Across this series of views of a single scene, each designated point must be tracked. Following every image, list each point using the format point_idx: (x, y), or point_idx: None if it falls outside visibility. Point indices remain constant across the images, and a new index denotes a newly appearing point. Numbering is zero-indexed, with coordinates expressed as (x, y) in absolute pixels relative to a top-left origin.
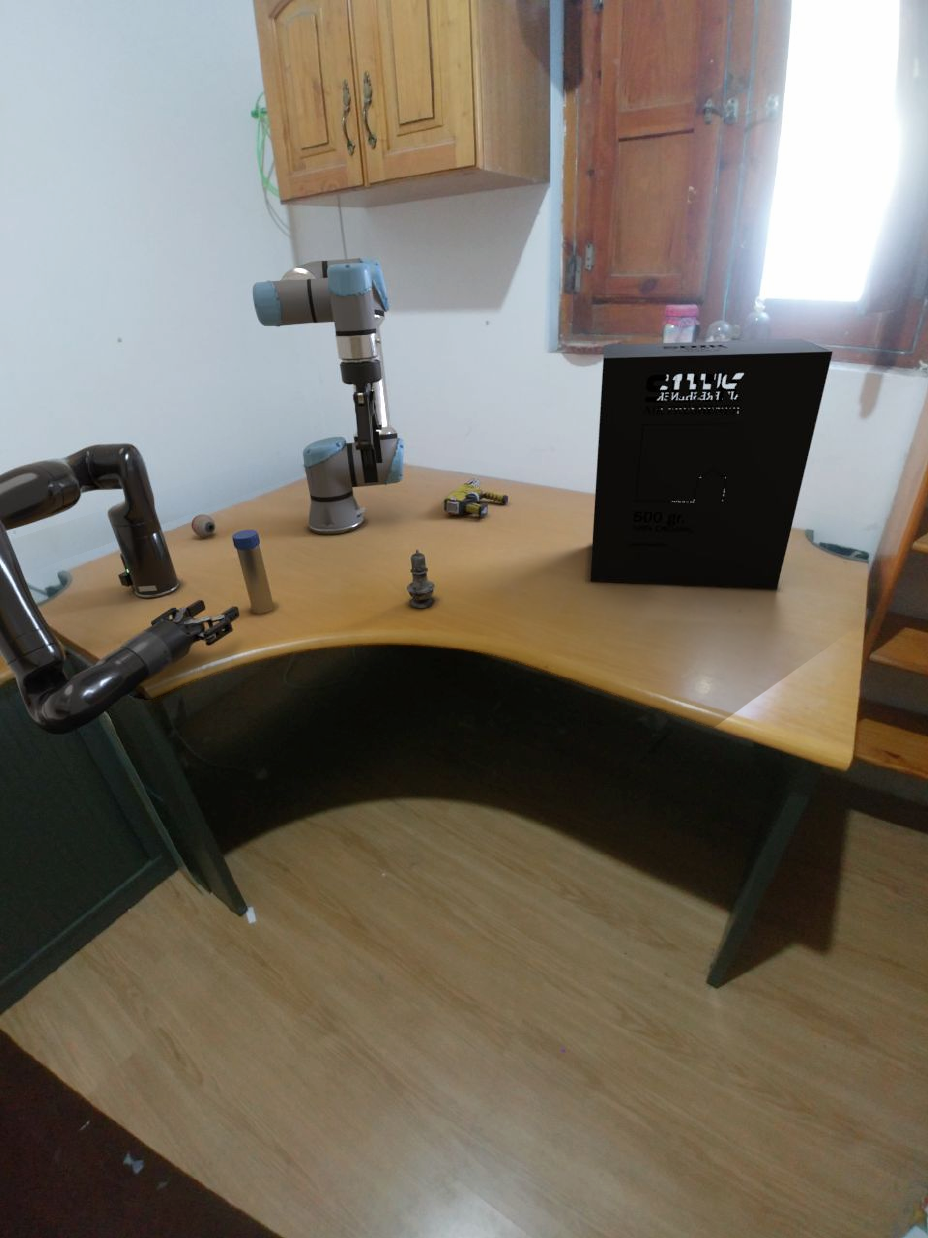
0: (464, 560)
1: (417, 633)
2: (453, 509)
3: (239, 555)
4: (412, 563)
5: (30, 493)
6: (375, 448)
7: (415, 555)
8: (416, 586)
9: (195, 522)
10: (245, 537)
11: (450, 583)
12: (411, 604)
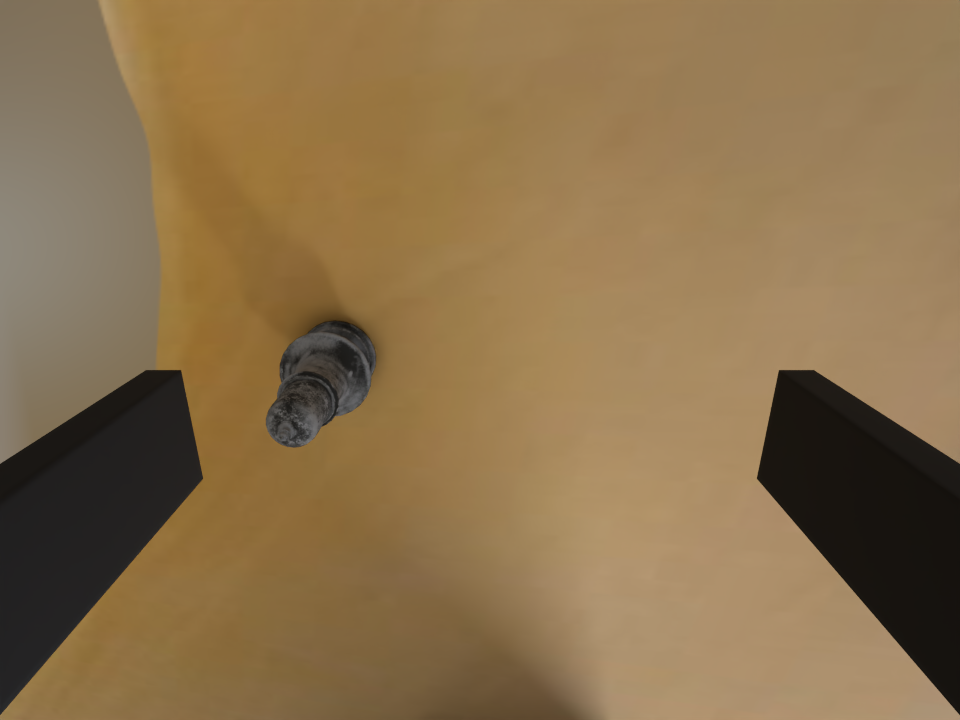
0: (607, 478)
1: (162, 343)
2: None
3: None
4: (280, 396)
5: None
6: (855, 522)
7: (275, 422)
8: (295, 369)
9: None
10: None
11: (455, 434)
12: (317, 327)
